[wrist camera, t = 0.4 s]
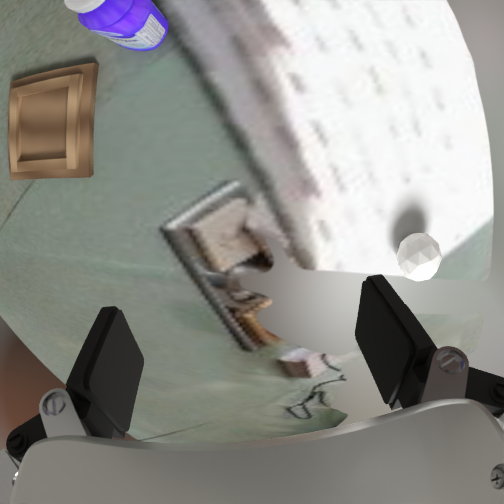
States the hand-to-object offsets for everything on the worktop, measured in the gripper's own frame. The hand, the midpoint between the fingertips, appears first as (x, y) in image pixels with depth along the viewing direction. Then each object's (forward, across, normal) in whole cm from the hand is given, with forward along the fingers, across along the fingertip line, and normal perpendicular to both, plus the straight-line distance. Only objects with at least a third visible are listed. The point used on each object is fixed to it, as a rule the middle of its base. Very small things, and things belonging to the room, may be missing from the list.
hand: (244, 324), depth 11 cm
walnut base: (+29, +26, -12) cm, 41 cm away
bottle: (+30, +10, -21) cm, 37 cm away
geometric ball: (+30, -28, +15) cm, 43 cm away
